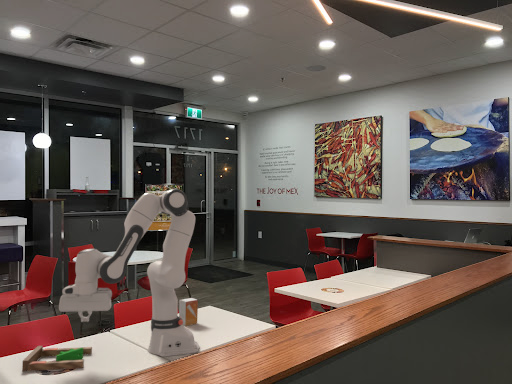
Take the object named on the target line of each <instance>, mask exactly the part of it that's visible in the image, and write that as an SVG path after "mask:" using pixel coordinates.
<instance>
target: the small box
mask: <svg viewBox="0 0 512 384" xmlns="http://www.w3.org/2000/svg"><path fill="white" fill-rule="evenodd" d="M178 302H179V304H178V306H179V307H178V309H179V311H178V317H181V318H182V320H183V324H182V325H183V326H184V327H187V326H192V325H195V324H196V323H197V324H198V314H199V313H198V307H199V306H198V305H199V304H198V303H199V301H198V299H197V298H193V297H190V298H184V299H183V298H182V299H179V301H178ZM197 324H196V325H197Z"/></svg>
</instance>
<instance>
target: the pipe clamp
mask: <svg viewBox="0 0 512 384" xmlns="http://www.w3.org/2000/svg"><path fill="white" fill-rule="evenodd" d="M70 348H71V349H70V351H66V352H62V351H61V352H60V354H59V355H56V356H55V361H67V360H83V359H84V355H83V348H80V347H78V348H79V349H76V350H75V349H72V348H73V347H70ZM82 358H83V359H82Z"/></svg>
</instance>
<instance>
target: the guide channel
mask: <svg viewBox="0 0 512 384" xmlns="http://www.w3.org/2000/svg"><path fill="white" fill-rule="evenodd" d="M43 346H44V345H38V346H36V347H35V348H34V349H33V350H32V351H30V353H28V355H26V357H25V358H24V359H23V360H22V368H21V369H22V372H32V371H33V372H35V371H36V372H37V371H51V370H67V369H69V370H70V369H82V368H84V365H85V360H84V359H80V360H67V361H56V360H54V361H53V360H51V361H47V360H40V361H39V360H38V359H40V358H46V357H56V355H59V354H60V352H61V351H62V352H66V351H70V349H71V348H72V349H75V350H76V349H79V348H83V356H86V355H87V354H88V355H91V354H92V352H93V347H92V346H86V347H85V346H84V347H80V346H79V347H66V348H65V347H63V348H61V347H60V348H58V347H52V348H51V347H50V348H49V347H48V348H44V347H43ZM37 360H38V361H37Z"/></svg>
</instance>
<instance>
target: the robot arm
mask: <svg viewBox="0 0 512 384" xmlns="http://www.w3.org/2000/svg"><path fill="white" fill-rule="evenodd" d="M189 209H190V208H189V202H188V197H187V194H186V193H185V192H184V191H183V190H181V189H178V188H172V189H169V190H166V191H165V192H164V193H162V194H161V195H157V194H155V193H152V192H145V193H144V194H142V195H141V196H140V197H139V198H138V199H137V201H136V202H135V203H134V205H133V206H132V207H131V209H130V210H129V212H128V213H127V216H126V217H125V220H124V224H123V225H124V236H123V239H122V241H120V243H119V246H118V247H117V249H116V251H115V253H114V254H113V255H108V254H105V253H103V252H101V251H99V250H98V249H97V248H86V249H83V250H80V251H79V252H78V253H77V255H76V259H75V267H74V268H75V269H74V270H75V275H76V276H75V280H74V284H70V285H67V286H65V287H64V288H63V289H62V290H61V291H62V295H61V296H60V298H59V303H58V310H59V311H60V312H64V313H65V312H69V313H70V312H78V313H77V314H78V316H79V318H80V322H81V323H88V322H89V321H90V317H91V315H92V313H93V312H101V311H102V312H103V311H104V312H106V311H109V310H110V309H111V308H112V297H113V291H112V289H110V288H109V287H99V286H98V285H99V284H98V283H99V280H98V279H100V278H101V280H102V281H103V282H104V283H106V284H110V285H112V284H117V283H119V282H122V280H123V279H124V277H125V276H126V273H127V270H128V269H127V268H128V264H129V262H130V260H131V257H132V255H133V254H134V252H135V251H136V249H137V247H138V245H139V243H140V241H141V240H142V238H143V237H144V235H145V234H146V233H147V231H148V230H149V228H150V227H151V225H152V224H153V222H154V220H156V217H157V216H158V215H159V214H160V213H161V214H164V215H170V216H171V217H170V218H171V220H170V221H171V222H170V225H169V227H168V230H167V232H166V235H165V239H164V241H163V244H162V259H159V260H155V261H152V262H151V263H150V264H149V265H148V267H147V270H146V275H147V277H148V279H149V280H148V281H149V287H150V293H151V298H152V299H151V300H152V303H151V304H152V308H151V309H152V310H151V311H152V315H151V316H152V317H151V318H150V319H151V320H150V331H151V335H150V340H149V345H148V348H147V352H149V353H150V354H153V355H158V356H159V357H163V358H164V357H171V356H172V357H173V356H180V355H189V354H196V353H197V352H198V351H199V350H200V344H199V342H198V341H196V340H195V336H194V333H193V332H192V331H191V330H190V329H189V328H187V326H184V325H182V324H183V320H182V318H181V317H179V311H178V309H179V307H178V306H179V304H178V302H179V301H178V297H177V295H176V291H175V289H178V288H180V287H181V286H183V284H184V283H185V281H186V271H185V264H186V256H187V252H188V249H189V246H190V242H191V239H192V236H193V234H194V230H195V224H196V216H195V214H194V213H193V212H192V211H190V210H189ZM84 312H87V314H88V315H87V316H84V315H83V313H84Z"/></svg>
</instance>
